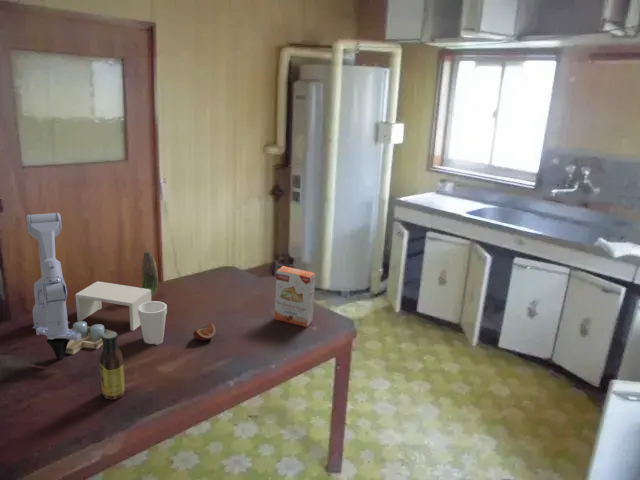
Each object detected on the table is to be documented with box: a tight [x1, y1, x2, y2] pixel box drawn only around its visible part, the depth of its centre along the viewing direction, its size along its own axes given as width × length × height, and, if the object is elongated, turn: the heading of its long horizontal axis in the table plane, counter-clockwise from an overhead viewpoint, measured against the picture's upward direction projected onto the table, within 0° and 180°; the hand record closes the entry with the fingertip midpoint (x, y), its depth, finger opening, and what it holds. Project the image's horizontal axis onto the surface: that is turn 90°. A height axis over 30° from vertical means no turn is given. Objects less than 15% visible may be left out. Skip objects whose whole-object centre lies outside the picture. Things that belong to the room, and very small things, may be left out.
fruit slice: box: [192, 322, 217, 341], centre depth 187 cm, size 8×7×5 cm
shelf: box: [74, 280, 152, 331], centre depth 196 cm, size 22×13×11 cm, turn 78°
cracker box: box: [273, 265, 317, 328], centre depth 203 cm, size 14×6×21 cm, turn 68°
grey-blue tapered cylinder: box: [89, 323, 105, 342], centre depth 181 cm, size 4×4×4 cm
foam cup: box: [138, 300, 168, 346], centre depth 183 cm, size 10×9×13 cm
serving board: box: [65, 325, 115, 355], centre depth 179 cm, size 14×15×2 cm
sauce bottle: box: [99, 330, 126, 401], centre depth 151 cm, size 6×6×20 cm
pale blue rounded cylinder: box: [72, 320, 88, 339], centre depth 183 cm, size 4×4×4 cm
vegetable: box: [141, 251, 159, 299], centre depth 215 cm, size 6×6×20 cm
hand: (60, 357), depth 169 cm, fingers closed
